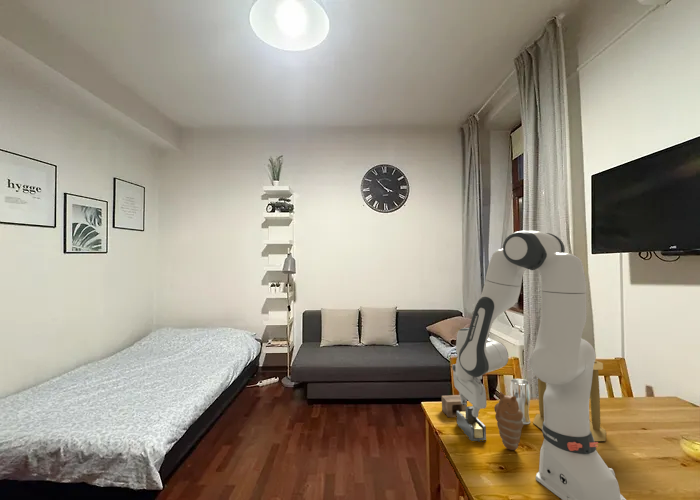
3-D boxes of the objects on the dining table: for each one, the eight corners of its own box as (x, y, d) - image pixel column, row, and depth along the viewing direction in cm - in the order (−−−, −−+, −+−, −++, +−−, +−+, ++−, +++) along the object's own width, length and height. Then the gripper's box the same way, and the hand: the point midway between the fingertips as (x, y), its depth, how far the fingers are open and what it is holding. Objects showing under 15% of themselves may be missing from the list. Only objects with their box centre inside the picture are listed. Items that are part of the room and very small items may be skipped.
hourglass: (539, 438, 119) (537, 365, 120) (527, 411, 141) (524, 349, 142) (620, 448, 112) (616, 370, 113) (594, 418, 134) (591, 353, 135)
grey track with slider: (486, 441, 118) (485, 426, 118) (471, 441, 117) (471, 427, 118) (470, 423, 131) (469, 410, 131) (456, 424, 130) (456, 410, 131)
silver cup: (535, 425, 129) (533, 384, 129) (516, 425, 129) (515, 384, 129) (525, 416, 136) (524, 378, 136) (508, 416, 136) (506, 378, 136)
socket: (467, 416, 137) (466, 401, 137) (447, 417, 136) (447, 402, 136) (460, 409, 143) (460, 394, 144) (442, 410, 143) (441, 395, 143)
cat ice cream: (491, 448, 113) (490, 393, 114) (503, 440, 118) (501, 387, 119) (519, 459, 106) (517, 401, 107) (529, 450, 111) (527, 394, 112)
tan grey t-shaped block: (482, 437, 118) (482, 414, 118) (474, 438, 118) (473, 415, 118) (466, 419, 132) (465, 398, 132) (458, 419, 132) (458, 399, 132)
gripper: (491, 382, 115) (491, 423, 114) (466, 363, 135) (466, 398, 135) (472, 382, 114) (473, 424, 114) (450, 363, 134) (450, 399, 134)
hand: (469, 410), depth 124 cm, fingers open, 8 cm apart
